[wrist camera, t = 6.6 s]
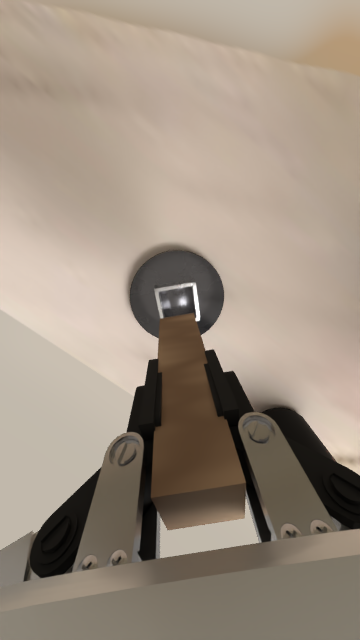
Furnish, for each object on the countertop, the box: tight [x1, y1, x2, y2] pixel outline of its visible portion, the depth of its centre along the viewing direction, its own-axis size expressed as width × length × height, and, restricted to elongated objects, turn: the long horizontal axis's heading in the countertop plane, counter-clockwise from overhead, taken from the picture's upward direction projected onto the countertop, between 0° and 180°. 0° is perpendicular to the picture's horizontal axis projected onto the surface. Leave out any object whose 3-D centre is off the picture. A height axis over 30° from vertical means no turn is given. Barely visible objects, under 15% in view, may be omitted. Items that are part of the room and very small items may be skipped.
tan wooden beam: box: [151, 313, 246, 530], centre depth 10 cm, size 2×2×10 cm
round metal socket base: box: [130, 250, 224, 338], centre depth 24 cm, size 12×12×3 cm
